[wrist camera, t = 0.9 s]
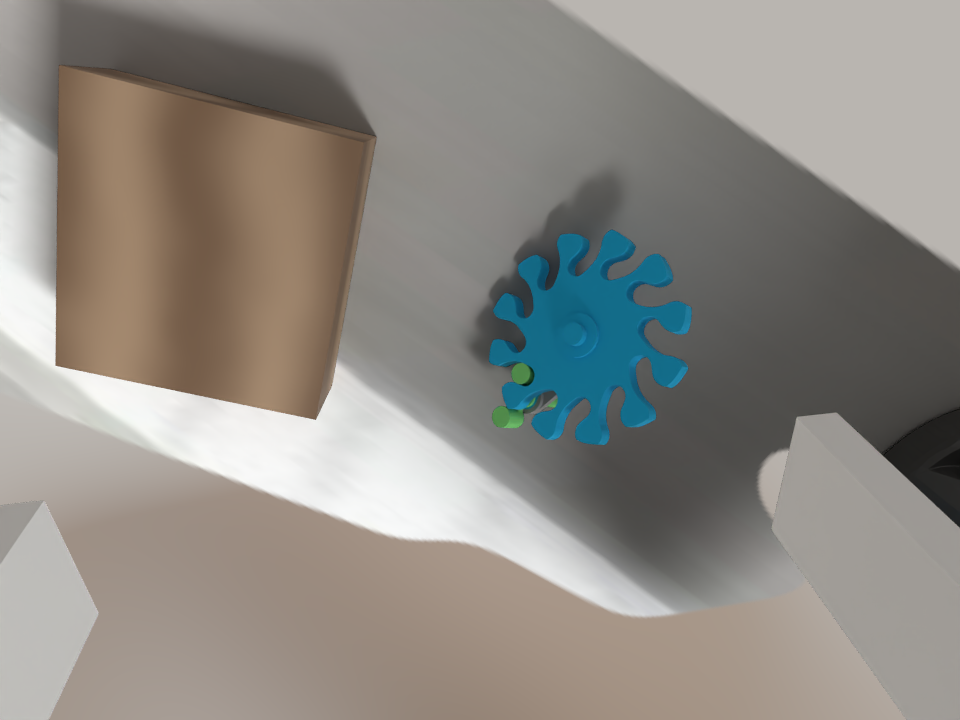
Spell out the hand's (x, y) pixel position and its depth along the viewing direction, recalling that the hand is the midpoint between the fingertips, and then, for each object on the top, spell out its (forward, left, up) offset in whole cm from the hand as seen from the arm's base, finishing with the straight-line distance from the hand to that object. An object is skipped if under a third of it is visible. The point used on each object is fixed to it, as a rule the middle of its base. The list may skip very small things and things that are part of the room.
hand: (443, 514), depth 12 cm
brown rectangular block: (+11, +2, -22) cm, 25 cm away
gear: (-6, +2, -23) cm, 24 cm away
